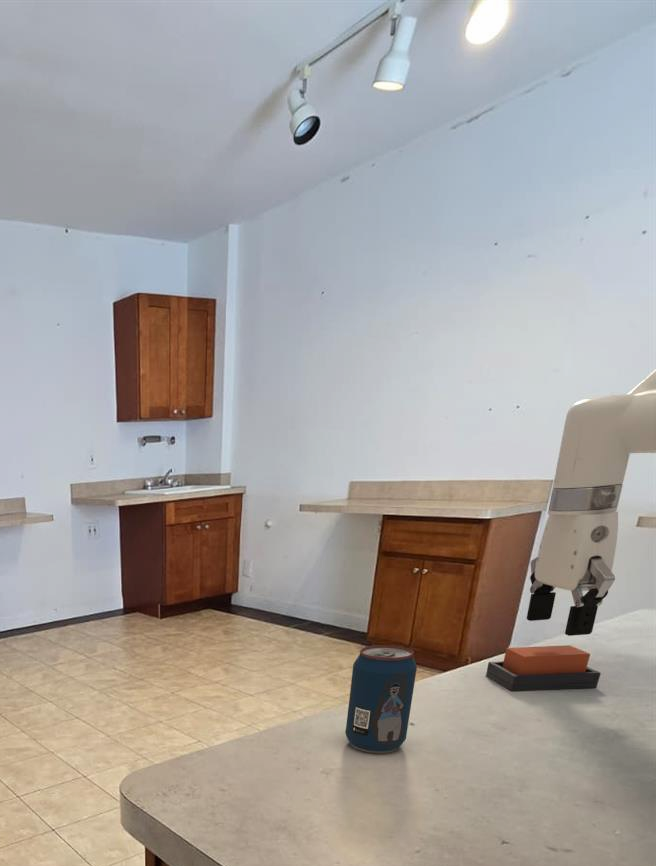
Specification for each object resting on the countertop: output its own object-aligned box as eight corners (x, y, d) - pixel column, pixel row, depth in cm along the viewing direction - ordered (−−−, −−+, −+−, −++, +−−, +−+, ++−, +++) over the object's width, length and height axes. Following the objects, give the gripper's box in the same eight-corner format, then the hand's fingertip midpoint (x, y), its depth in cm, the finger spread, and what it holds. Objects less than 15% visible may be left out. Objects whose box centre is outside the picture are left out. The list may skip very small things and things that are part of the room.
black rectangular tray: (565, 672, 99) (568, 658, 98) (596, 688, 92) (601, 672, 92) (485, 676, 101) (488, 661, 100) (511, 691, 94) (514, 676, 93)
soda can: (366, 729, 84) (377, 640, 79) (416, 745, 79) (431, 650, 74) (332, 743, 81) (342, 651, 76) (382, 760, 76) (396, 662, 71)
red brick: (563, 670, 98) (569, 645, 96) (583, 680, 93) (590, 653, 92) (500, 673, 99) (506, 648, 97) (518, 682, 94) (524, 656, 93)
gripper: (661, 500, 78) (625, 638, 85) (574, 495, 93) (550, 612, 100) (594, 506, 79) (564, 643, 86) (519, 501, 94) (499, 616, 101)
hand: (557, 626), depth 93 cm, fingers open, 9 cm apart
